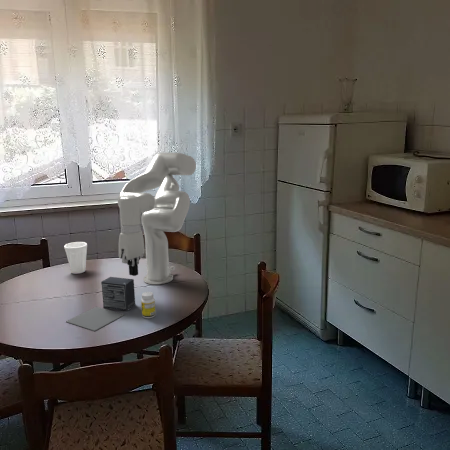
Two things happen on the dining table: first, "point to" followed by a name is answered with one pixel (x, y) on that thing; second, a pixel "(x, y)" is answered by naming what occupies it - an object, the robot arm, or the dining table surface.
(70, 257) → the cup
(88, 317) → the mat
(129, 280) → the small box
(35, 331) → the dining table surface
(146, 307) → the supplement bottle
